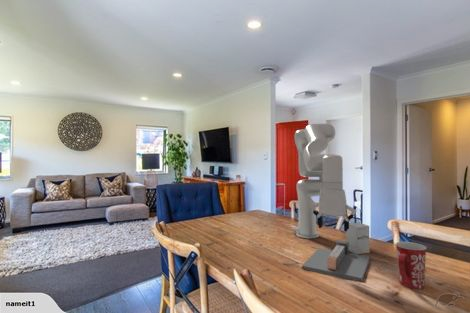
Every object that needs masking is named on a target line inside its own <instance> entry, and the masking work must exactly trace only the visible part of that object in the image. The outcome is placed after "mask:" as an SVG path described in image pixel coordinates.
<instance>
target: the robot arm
mask: <svg viewBox="0 0 470 313" xmlns="http://www.w3.org/2000/svg"><path fill="white" fill-rule="evenodd" d="M335 136H336V129H335V127H334V125H333V124H331V123H311V124H309V125H306V127H305V128H304V129H303V128H302V129H298V130H296V131H295V133H294V143H295V146H296V148H297V152H298V173H299V176H300V177H304V178H306V179H300V180H298V181H297V183H296V193H297V203H298V206H297V207H298V209H297V210H298V226H295V225H292V227H291V230H292V231H296V232H295V235H296V236H297V237H298V238H301V239H316V238H319V237H320V234H319V232H318V231H317V226H318V228H319V229H321V228H323V226H324V225H323V224H324V223H323V220H324V219H323V216H333V217H342V218H343V219H344V221H343V231H344V232H345V233H346V231H347V229H349V223H350V220H352V219H353V218H354V216H355V215H356V213H357V209H355V208H354V207H352V206H350V205H348V204H347V196H346V190H345V189H344V188H343V187H344V184H343V183H344V182H343V178H344V177H343V176H344V175H343V169H344V168H343V163H344V162H343V157H342V156H341V155H338V154H332V153H331V154H323V152H324V151H325V150H326V149H327V147H328V146H329V143H330V142H332V141H333V140H334V139H335ZM320 153H322V154H320ZM307 178H309V179H307ZM310 178H317V179H310ZM313 197H318V198H319V199H318V203H315V201H314V200H313V199H312V198H313ZM317 208H318V210H317ZM347 211H349V212H351V213H350V214H349V215H348V214H347Z"/></svg>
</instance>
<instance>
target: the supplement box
mask: <svg viewBox="0 0 470 313" xmlns="http://www.w3.org/2000/svg"><path fill="white" fill-rule="evenodd" d="M345 235H346V236H345V241H346V242H349V253H350V252H351V253H352V254H357V255H364V254H370V225H368V224H364V223H361V222H349V229H347V231H346V232H345Z"/></svg>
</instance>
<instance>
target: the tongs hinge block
mask: <svg viewBox="0 0 470 313" xmlns="http://www.w3.org/2000/svg"><path fill="white" fill-rule="evenodd" d="M336 245H341V246H345V255H348V254H349V253H350V251H349V242H346V240H339V239H338V240H336V241H335V246H336Z"/></svg>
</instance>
